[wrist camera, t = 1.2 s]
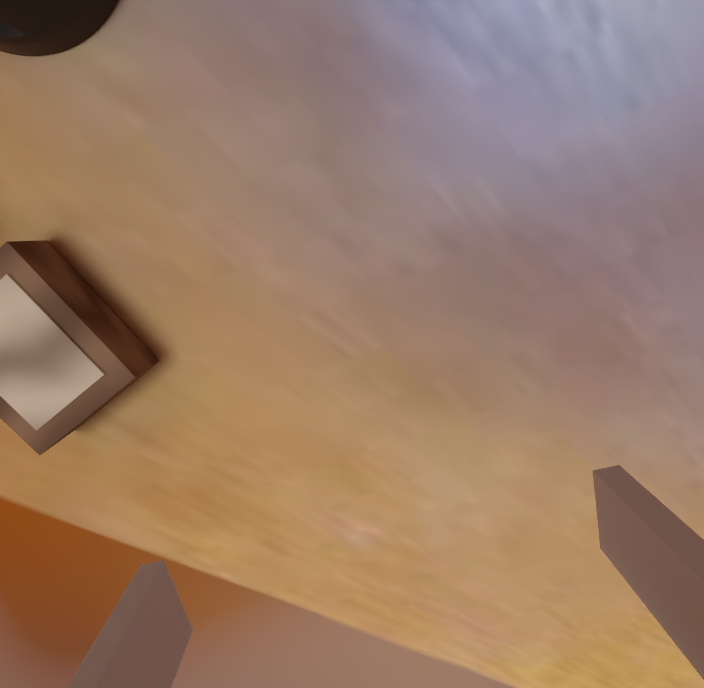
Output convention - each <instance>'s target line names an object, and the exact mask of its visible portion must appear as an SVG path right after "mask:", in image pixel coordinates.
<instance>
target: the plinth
mask: <svg viewBox="0 0 704 688" xmlns="http://www.w3.org/2000/svg"><path fill="white" fill-rule="evenodd" d="M157 362H159V361H158V360H157V359H156V358H155V357H154V356H153V355H152V354H151V352H150V351H149V350H148V349H147V348H146V347H145V346H144V345H143V344H142V343H141V342H140V341H139V339H138V338H137V337H136V336H135V335H134V334H133V333H132V332H131V331H130V330H129V329H128V328H127V327H126V325H125V324H124V323H123V322H122V321H121V320H120V319H119V318H118V317H117V316H116V315H115V314H114V313H113V311H112V310H111V309H110V308H109V307H108V306H107V305H106V304H105V303H104V302H103V301H102V300H101V299H100V297H99V296H98V295H97V294H96V293H95V292H94V291H93V290H92V289H91V288H90V287H89V286H88V285H87V283H86V282H85V281H84V280H83V279H82V278H81V277H80V276H79V275H78V274H77V273H76V272H75V270H74V269H73V268H72V267H71V266H70V265H69V264H68V263H67V262H66V261H65V260H64V259H63V258H62V256H61V255H60V254H59V253H58V252H57V251H56V250H55V249H54V248H53V247H52V246H51V245H50V244H49V242H48V241H15V242H6V243H5V244H4V245H3V246H2V247H1V248H0V418H1V419H2V420H3V421H4V422H5V423H6V424H7V425H8V426H9V427H10V428H11V429H12V430H14V431H15V432H16V433H17V434H18V435H19V436H20V437H21V438H22V439H23V440H24V441H25V442H26V443H27V444H28V445H29V446H30V447H32V448H33V449H34V450H35V451H36V452H37V453H38V454H39V455H41V454H42V453H44V452H45V451H47V450H48V449H49V448H51V447H52V446H53V445H55V444H56V443H58V442H59V441H60V440H62V439H63V438H64V437H66V436H67V435H69V434H70V433H71V432H73V431H74V430H75V429H76V428H78V427H79V426H80V425H81V424H83V423H84V422H85V421H86V420H87V419H89V418H90V417H91V416H92V415H94V414H95V413H96V412H97V411H98V410H100V409H101V408H102V407H103V406H105V405H106V404H107V403H108V402H110V401H111V400H112V399H113V398H114V397H116V396H117V395H118V394H119V393H121V392H122V391H123V390H124V389H126V388H127V387H128V386H129V385H130V384H132V383H133V382H134V381H135V380H137V379H138V378H139V377H140V376H141V375H143V374H144V373H145V372H146V371H148V370H149V369H150V368H151V367H153V366H154V365H155V364H156V363H157Z"/></svg>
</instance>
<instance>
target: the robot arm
mask: <svg viewBox="0 0 704 688" xmlns="http://www.w3.org/2000/svg"><path fill="white" fill-rule="evenodd" d="M116 1H117V0H0V51H2V52H6V53H10V54H16V55H24V56H40V55H48V54H53V53H57V52H60V51H63V50H66V49H68V48H71V47H73V46H75V45H77V44H78V43H80V42H81V41H83V40H85V39H86V38H87V37H88V36H90V35H91V34H92V33H93V32H94V31H95V30H96V29H97V28H98V27H99V26H100V25H101V24H102V23H103V22H104V20H105V19H106V18H107V17H108V15H109V13H110V12H111V10H112V9H113V7H114V5H115V3H116ZM593 478H594V488H595V498H596V508H597V519H598V529H599V539H600V548H601V549H602V551H603V552H604V553H605V554H606V556H607V557H608V558H609V560H610V561H611V562H612V563H613V565H614V566H615V567H616V568H617V570H618V571H619V572H620V574H621V575H622V576H623V577H624V579H625V580H626V581H627V582H628V584H629V585H630V586H631V588H632V589H633V590H634V591H635V593H636V594H637V595H638V597H639V598H640V599H641V600H642V602H643V603H644V604H645V605H646V607H647V608H648V609H649V611H650V612H651V613H652V614H653V616H654V617H655V618H656V619H657V621H658V622H659V623H660V625H661V626H662V627H663V628H664V630H665V631H666V632H667V634H668V635H669V636H670V637H671V639H672V640H673V641H674V642H675V644H676V645H677V646H678V648H679V649H680V650H681V651H682V653H683V654H684V655H685V656H686V658H687V659H688V660H689V662H690V663H691V664H692V665H693V667H694V668H695V669H696V671H697V672H698V673H699V674H700V676H701V677H702V678H703V679H704V540H703V539H702V538H701V537H700V536H699V535H697V534H696V533H695V532H694V531H693V530H692V529H691V528H689V527H688V526H687V525H686V524H685V523H684V522H683V521H682V520H680V519H679V518H678V517H677V516H676V515H675V514H674V513H673V512H671V511H670V510H669V509H668V508H667V507H666V506H665V505H664V504H662V503H661V502H660V501H659V500H658V499H657V498H656V497H655V496H653V495H652V494H651V493H650V492H649V491H648V490H647V489H645V488H644V487H643V486H642V485H641V484H640V483H639V482H638V481H636V480H635V479H634V478H633V477H632V476H631V475H630V474H629V473H627V472H626V471H625V470H624V469H623V468H622V467H621V466H620V465H617V466H613V467H608V468H603V469H598V470H593ZM192 631H193V629H192V626H191V624H190V621H189V619H188V617H187V614H186V612H185V609H184V607H183V605H182V602H181V600H180V597H179V595H178V593H177V590H176V588H175V586H174V583H173V581H172V578H171V576H170V573H169V571H168V569H167V566H166V564H165V562H164V560H163V561H158V562H153V563H148V564H144V565H140V566H139V568H138V570H137V571H136V573H135V575H134V576H133V578H132V580H131V582H130V583H129V585H128V586H127V588H126V590H125V591H124V593H123V595H122V596H121V598H120V600H119V602H118V603H117V605H116V606H115V608H114V610H113V611H112V613H111V615H110V616H109V618H108V620H107V621H106V623H105V625H104V626H103V628H102V630H101V631H100V633H99V635H98V637H97V638H96V640H95V641H94V643H93V645H92V646H91V648H90V650H89V651H88V653H87V655H86V656H85V658H84V660H83V661H82V663H81V665H80V666H79V668H78V670H77V671H76V673H75V675H74V676H73V678H72V680H71V681H70V683H69V685H68V687H67V688H171V687H172V684H173V681H174V679H175V676H176V673H177V671H178V668H179V665H180V663H181V660H182V657H183V654H184V652H185V649H186V646H187V644H188V641H189V639H190V636H191V633H192Z"/></svg>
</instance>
